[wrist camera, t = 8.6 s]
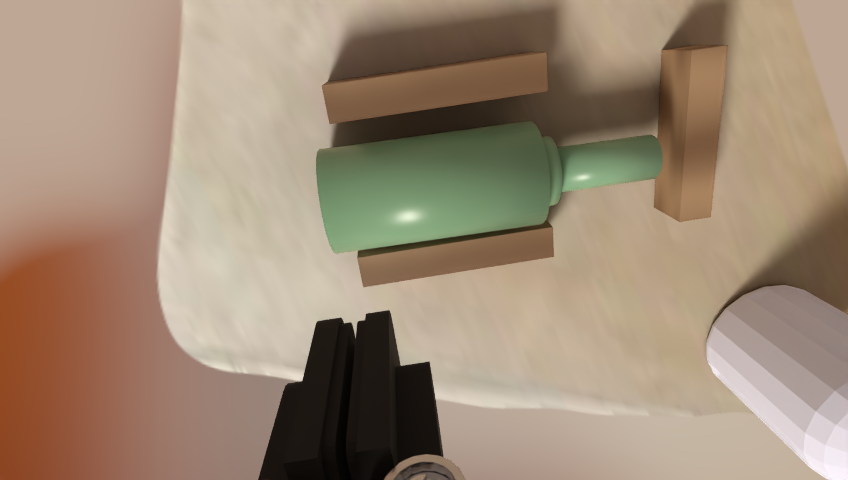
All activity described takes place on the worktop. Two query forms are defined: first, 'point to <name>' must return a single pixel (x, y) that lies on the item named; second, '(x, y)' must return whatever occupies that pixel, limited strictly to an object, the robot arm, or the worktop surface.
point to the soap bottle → (789, 370)
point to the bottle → (464, 182)
